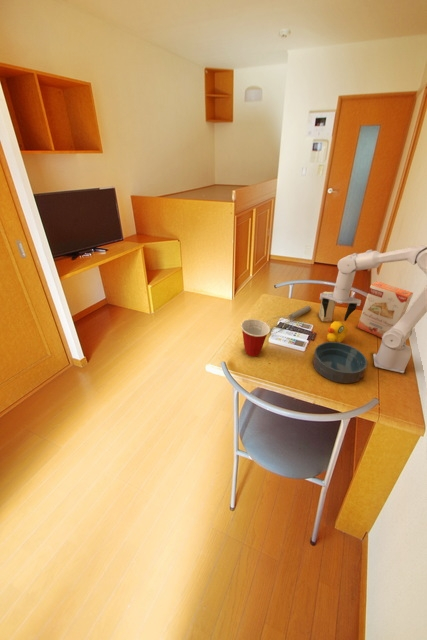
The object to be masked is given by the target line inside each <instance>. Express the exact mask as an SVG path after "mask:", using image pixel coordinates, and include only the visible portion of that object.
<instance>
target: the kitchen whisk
mask: <svg viewBox="0 0 427 640" xmlns="http://www.w3.org/2000/svg"><path fill="white" fill-rule="evenodd" d="M311 310H312V306H311V305H306V306H304V307H301V308H300V309H298V310H296V311H294V312H292V313H290V314H287V315H283V317H282V318H280V315H278V316H275V317H273V318H271V319H270V320H268V322H271V321H272V320H274V319H279V318H280V319H279V320H276V321H275V322H272V323H271V324H270V323H267V324H268V325H269V327H270V328H271V327H272V326H273V325H274V324H276V323H278V322H280V321H282V320H285V321H284V322H283V323H281V324H279V325H278V326H276V327H273V328H272V329H270V332H271V333H272V335H274V334H277V333H279V332H281V331H283V330H284V329H285V328H286V327H287V326H288V324H290V322H291V321H293V320H296V319H297V318H299V317H300V316H303V315H304V314H306V313H309V312H310V311H311ZM286 319H287V320H286ZM283 325H284V326H283ZM281 326H282V328H281V329H279V330H278V331H275V332H273V330H275V329H278V328H279V327H281Z"/></svg>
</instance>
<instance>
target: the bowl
mask: <svg viewBox="0 0 427 640" xmlns="http://www.w3.org/2000/svg"><path fill="white" fill-rule="evenodd" d="M312 365H313V368H314V369H315V370H316V372H317V373H318V374H319V375H321V376H322V377H324V378H325V379H328V380H330V381H332V382H335V383H340V384H353V383H357V382H359V381H361V380H362V378H363V377H364V375H365V373H366V369H367V367H368V360H367V358H366V356H365V355H364V354H363V353H362V352H361V351H360V350H359V349H358V348H356V347H354V346H351V345H349V344H346V343H343V342H341V343H339V342H329V341H326V342H322V343H320V344H318V345H317V346H316V347H315V349H314V353H313V357H312Z"/></svg>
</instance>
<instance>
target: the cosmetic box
mask: <svg viewBox="0 0 427 640" xmlns="http://www.w3.org/2000/svg"><path fill="white" fill-rule="evenodd" d="M333 292H334V291H323V292H322V293H324V294H333ZM336 304H337V302H336V301H330V300H329V303H328V308H327V312H326V317H324V309H323V305H322V300H321V301H320V307H319V311H318V317H319V319H320V320H321V322H330V323H331V322H332V321H333V316H334V312H335V308H336Z"/></svg>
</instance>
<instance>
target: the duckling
mask: <svg viewBox="0 0 427 640" xmlns="http://www.w3.org/2000/svg"><path fill="white" fill-rule="evenodd" d="M327 332H328V333H327V335H326V339H327V342H339V343H343V341H344V340H345V338H346V336H347V333H348V328H347V326H346V325H344V323H343V322H342V321H339V320H335V321H333V322H332V323H331V324H330V325H329V327H328V328H327Z"/></svg>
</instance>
